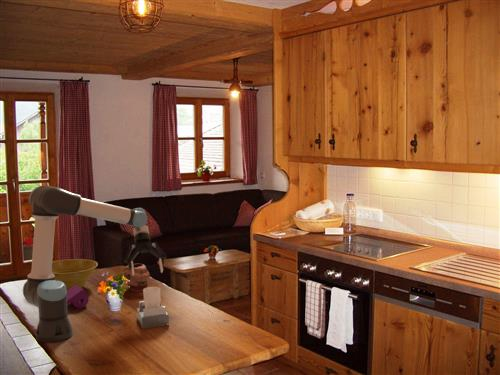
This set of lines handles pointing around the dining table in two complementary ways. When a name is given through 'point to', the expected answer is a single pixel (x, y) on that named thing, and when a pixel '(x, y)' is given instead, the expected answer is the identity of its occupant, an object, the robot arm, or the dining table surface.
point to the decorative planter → (137, 277)
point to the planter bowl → (73, 271)
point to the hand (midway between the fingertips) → (147, 272)
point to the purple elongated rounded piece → (77, 297)
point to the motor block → (152, 316)
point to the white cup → (151, 297)
